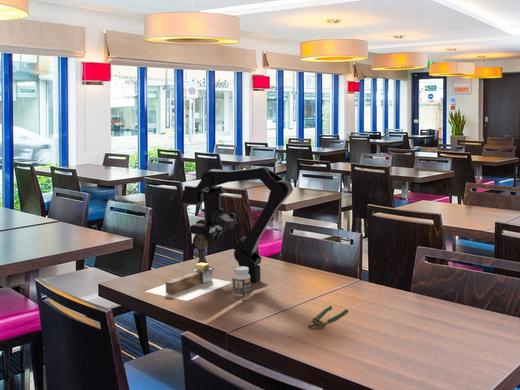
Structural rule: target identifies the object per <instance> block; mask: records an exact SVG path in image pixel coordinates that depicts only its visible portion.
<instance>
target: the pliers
mask: <svg viewBox="0 0 520 390" xmlns="http://www.w3.org/2000/svg"><path fill="white" fill-rule="evenodd" d="M332 308H333V306H332V305H329V306H328V307H326V308H324V309H323V310H322V311H321V312H319V313H318V314H317V315H316V316H314V317H313V318H312V319H311V321H312V322H314V324H313V323H312V324H309V325H307V327H308V328H309V329H310V330H322V329H323V328H324V327H325V326H327V325H328V324H330V323H332V322H334V321H336V320H337V319H339V318H341V317H343V316H344V315H345V314H347V313H348V312H349V309H347V308H346V309H345V310H342V311H341V312H340V313H338V314H336V315H334V316H333V317H330V318H329V319H328V320H327V321H326V322H323V321H322V320H321V318H322V317H323V316H324V315H325V314H326V313H327V312H328V311H330V310H332Z"/></svg>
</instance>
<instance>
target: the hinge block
mask: <svg viewBox="0 0 520 390" xmlns="http://www.w3.org/2000/svg"><path fill="white" fill-rule="evenodd" d="M192 272H195V273H199V277H200V284H206V283H209V282H211V281H212V278H213V268H211V267H209V269H208V270H205V271H201V270H196V268H195V269H193V270H192Z"/></svg>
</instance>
